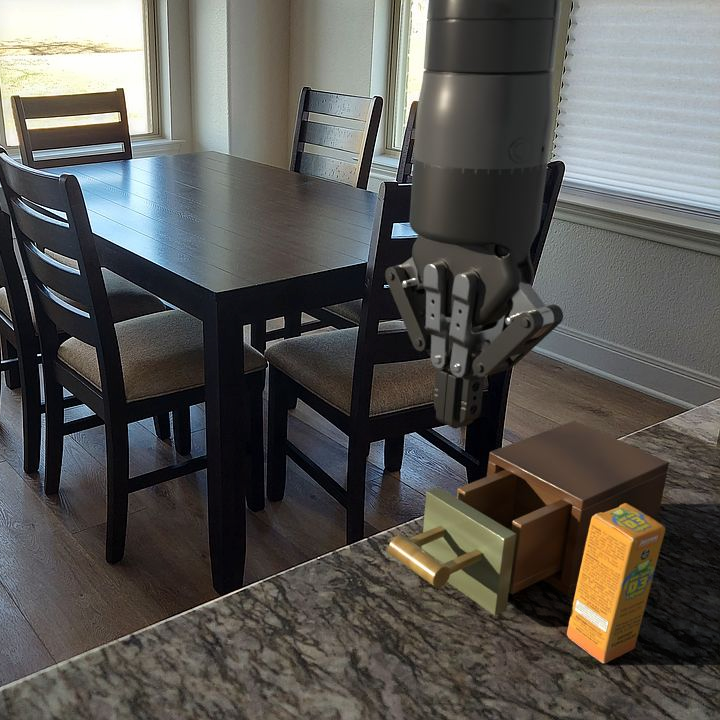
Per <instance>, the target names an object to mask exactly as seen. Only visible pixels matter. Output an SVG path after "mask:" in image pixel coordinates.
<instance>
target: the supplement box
mask: <svg viewBox="0 0 720 720" xmlns="http://www.w3.org/2000/svg"><path fill="white" fill-rule="evenodd" d="M665 532H666V527H665V526H664V525H663V524H662V523H660V522H659V521H658V520H657V521H656V520H654V519H653V518H651V517H649V516H648V515H646V514H644V513H643V512H641V511H639V510H638V509H636V508H634V507H632V506H630V505H629V504H627V503H624V504H622V505H620V506H619V507H618V508H615V509H612V510H610V511H607V512H603V513H602V512H600V513H597V514H595V515H594V516H592V518H591V523H590V527H589V532H588V536H587V541H586V545H585V550H584V555H583V559H582V564H581V569H580V573H579V578H578V583H577V588H576V592H574V597H573V602H572V606H571V611H570V616H569V620H568V626H567V632H566V636H567V638H568V639H569V640H570V641H572V642H573V643H575V644H576V645H577V646H578V647H580V648H581V649H582V650H584V651H585V652H586V653H587V654H589V655H590V656H591V657H593V658H594V659H596V660H597V661H599V662H600V663H601V664H607V663H609V662H611V661H613V660H615V659H617V658H619V657H621V656H623V655H625V654H627V653H629V652H631V651H633V650H634V649H636V644H637V640H638V637H639V634H640V633H639V632H640V629H641V624H642V621H643V617H644V613H645V609H646V605H647V602H648V597H649V594H650V589H651V586H652V582H653V578H654V575H655V571H656V566H657V562H658V559H659V555H660V552H661V548H662V543H663V541H664V536H665V534H666V533H665Z"/></svg>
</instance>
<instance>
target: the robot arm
mask: <svg viewBox="0 0 720 720" xmlns="http://www.w3.org/2000/svg"><path fill="white" fill-rule="evenodd" d="M562 1H563V0H428V3H427V15H426V19H427V20H426V29H425V44H424V45H425V46H424V59H423V69H424V70H423V74H422V82H421V87H420V93H419V96H418V102H417V108H416V116H415V129H414V130H415V131H414V143H413V144H414V145H413V161H412V174H411V175H412V177H411V189H410V191H411V193H410V209H409V226H410V228H411V230H412V232H413V233H415V234H416V235H417V237H416V239H415V241H414V243H413V245H412V250H411V257H410V258H408V259H407V260H406V261H404V262H403V263H402V264H397V265H395V266H389V267H388V268H386V270H385V273H384V274H385V275H384V276H385V280H386V283H387V285H388V287H389V290H390V293H391V296H392V297H393V301H394V302H395V304H396V307H397V309H398V312H399V314H400V317H401V319H402V322H403V324H404V326H405V329H406V331H407V334H408V336H409V338H410V342H411V343H412V346H413V348H414V349H415V350H416V351H417V352H424V351H425V352H426V353H427V354H428V355H429V356H430V363H431V364H432V366H433V367H434V368H435V376H434V377H435V379H434V390H433V393H434V394H433V407H434V410H435V419H436V420H437V421H438V422H440V423H441V424H445V425H446V426H448V427H450V428H451V429H454V430H457V429H459V428H463V427H465V426H468V425H470V424H472V423H473V422H475V420H476V419H478V418H479V416H480V415H481V413H482V404H483V396H484V395H483V394H484V385H485V377H488V376H491V375H494V374H498V373H502V372H504V371H507V370H510V369H512V368H514V367H515V366H516V365H517V364H518V363H519V362H520V361H521V360H522V359H524V357H525V356H527V355H528V354H529V353H530V352H531V351H532V350H533V349H534V348H535V347H536V346H537V345H538V344H540V342H542V341H543V340H544V339H545V338H546V337H547V336H548V335H549V334H550V333H552V332H553V331H554V330H555V329H556V328H557V327H558V326H559V325H560V324H561V323H562V322H563V320H564V313H563V310H562V308H561V307H560V306H559V305H558V304H553V303H552V304H549V305H546V304H545V303H544V301H543V300H542V299H541V297H540V296H539V295H538V293H537V291H536V290H535V289H534V288H533V286H532V285H533V282H534V279H535V271H534V266H533V264H532V259H531V252H530V251H531V247H532V244H533V242H534V240H535V239H536V236H537V234H538V233H539V231H540V227H541V219H542V211H543V210H542V209H543V202H544V193H545V188H546V187H545V185H546V178H547V169H548V161H549V155H550V154H549V153H550V145H551V138H552V137H551V136H552V129H553V120H554V119H553V118H554V75H555V74H554V73H555V72H554V71H553V70H554V69H555V64H556V56H557V48H558V40H559V33H560V25H561V24H560V23H561V19H560V18H561V15H562V4H563V3H562ZM508 312H509V313H508ZM507 313H508V316H506V315H507ZM421 315H422V316H424V317H425V324H424V322H423V319H422V316H421ZM504 323H505V325H506V327H505V329H504Z"/></svg>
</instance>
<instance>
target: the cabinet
mask: <svg viewBox="0 0 720 720" xmlns="http://www.w3.org/2000/svg"><path fill="white" fill-rule="evenodd" d="M488 454H489V456H488V463H487V472H486V477H488V476H490V475H493V474H495V473H498V472H500V471H503V470H508V471H509V472H511V473H513V474H515V475H517V476H519V477H521V478H523V479H524V480H526V481H528V482H530V483H532V484H534V485H536V486H538V487H539V488H541V489H543V490H545V491H547V492H549V493H551V494H553V495H555V496H556V497H558V498H560V499H562V500H564V501H566V502H568V503H570V504H571V505H573V506H572V512H571V519H570V525H569V531H568V537H567V544H566V550H565V556H564V563H563V569H562V570H560V571H558V572H556V573H554V574H552V575H550V576H548V577H546V578H544V579H542V580H541V581H544V582H545V583H547V584H548V585H550V586H552V587H553V588H554V589H556V590H558V591H560V592H561V593H562V594H564V595H566V596H570V595H572V594H573V593H574V594H575V592H576V588H577V583H578V578H579V573H580V569H581V564H582V559H583V555H584V550H585V545H586V541H587V536H588V532H589V527H590V523H591V518H592V516H594V515H595V514H597V513H600V512H602V513H603V512H607V511H610V510H612V509H615V508H618V507H619V506H620V505H622V504H624V503H627V504H629V505H630V506H632V507H634V508H636V509H638V510H639V511H641V512H643V513H644V514H646V515H648V516H649V517H651V518H653V519H654V520H656V521H657V522H658V520H659V516H660V510H661V505H662V500H663V495H664V491H665V485H666V480H667V476H668V471H669V466H670V462H669V461H668V460H666V459H664V458H661V457H658V456H656V455H653V454H651V453H649V452H647V451H644V450H642V449H640V448H638V447H635V446H633V445H632V444H629V443H626V442H624V441H622V440H619V439H618V438H615V437H613V436H611V435H609V434H606V433H603V432H601V431H599V430H597V429H595V428H592V427H590V426H588V425H585V424H584V423H582V422H579V421H576V420H572V421H569V422H566V423H564V424H561V425H559V426H556V427H552V428H550V429H547V430H544V431H542V432H540V433H537V434H534V435H531V436H529V437H526V438H524V439H521V440H518V441H515V442H512V443H510V444H506V445H504V446H502V447H499V448H497V449H494V450H492V451H490V452H489V453H488Z"/></svg>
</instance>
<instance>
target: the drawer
mask: <svg viewBox="0 0 720 720" xmlns="http://www.w3.org/2000/svg"><path fill="white" fill-rule="evenodd" d="M572 506H573V505H571V504H570V503H568V502H566V501H564V500H562V499H560V498H558V497H556V496H555V495H553V494H551V493H549V492H547V491H545V490H543V489H541V488H539V487H538V486H536V485H534V484H532V483H530V482H528V481H526V480H524V479H523V478H521V477H519V476H517V475H515V474H513V473H511V472H509V471H508V470H503V471H500V472H498V473H495V474H493V475H490V476H488V477H487V476H485V477H482V478H480V479H477V480H475V481H472V482H470V483H468V484H465V485H463V486H460V487H457V491H456V496H454V495H453V494H451V493H449V492H447V490H444V489H442V488H441V487H439V486H436V487H434V488H431V489H428V490H426V492H425V506H424V515H423V516H424V517H423V529H422V533H419V534H417V535H414V536H411V537H410V538H407V537H406V536H404V535H402V534H398V535H396V536H394V537H393V538H392V539H391V541H390V542H389V544H388V548H387V549H388V553H389V554H390V555H391V556H392V557H393V558H395V559H396V560H398V561H399V562H400V563H402V564H403V566H404V565H405V567H407V568H408V569H410V570H411V571H413V572H414V573H415V574H417V575H418V576H419V577H421V578H422V579H423V580H424V581H426V582H427V583H429V584H430V585H432V586H433V587H434V588H442V587H443V586H445V585H446V584H447V583H448V584H449V585H451V586H452V587H454V588H455V589H456V590H458V591H459V592H461V593H462V594H463V595H465V596H466V597H468V598H469V599H470V600H472V601H473V602H475V603H476V604H477V605H479V606H480V607H482V608H483V609H484V610H486V611H487V612H488V613H490V614H491V615H493V616H494V617H495V616H497V615H499V614H501V613H504V612H505V611H507V610H508V609H507V608H508V601H509V594H510V595H515V594H516V593H518V592H520V591H522V590H524V589H526V588H528V587H530V586H532V585H534V584H537V583H538V582H540V581H543V580H542V579H544V578H546V577H548V576H550V575H552V574H554V573H556V572H558V571H560V570H562V569H563V563H564V556H565V550H566V544H567V537H568V531H569V525H570V519H571V512H572Z"/></svg>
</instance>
